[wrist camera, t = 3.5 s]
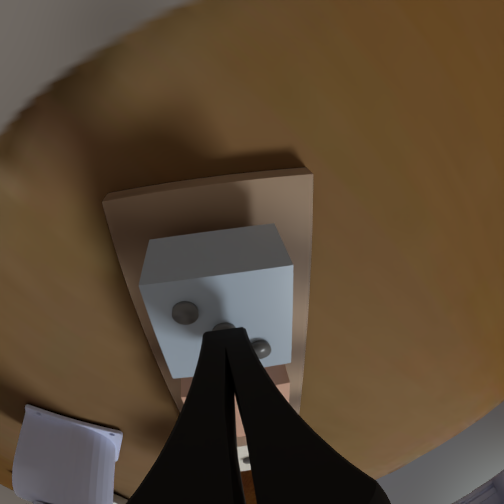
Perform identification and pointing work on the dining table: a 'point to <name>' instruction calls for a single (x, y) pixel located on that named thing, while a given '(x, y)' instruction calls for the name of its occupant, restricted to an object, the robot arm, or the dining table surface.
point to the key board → (211, 219)
